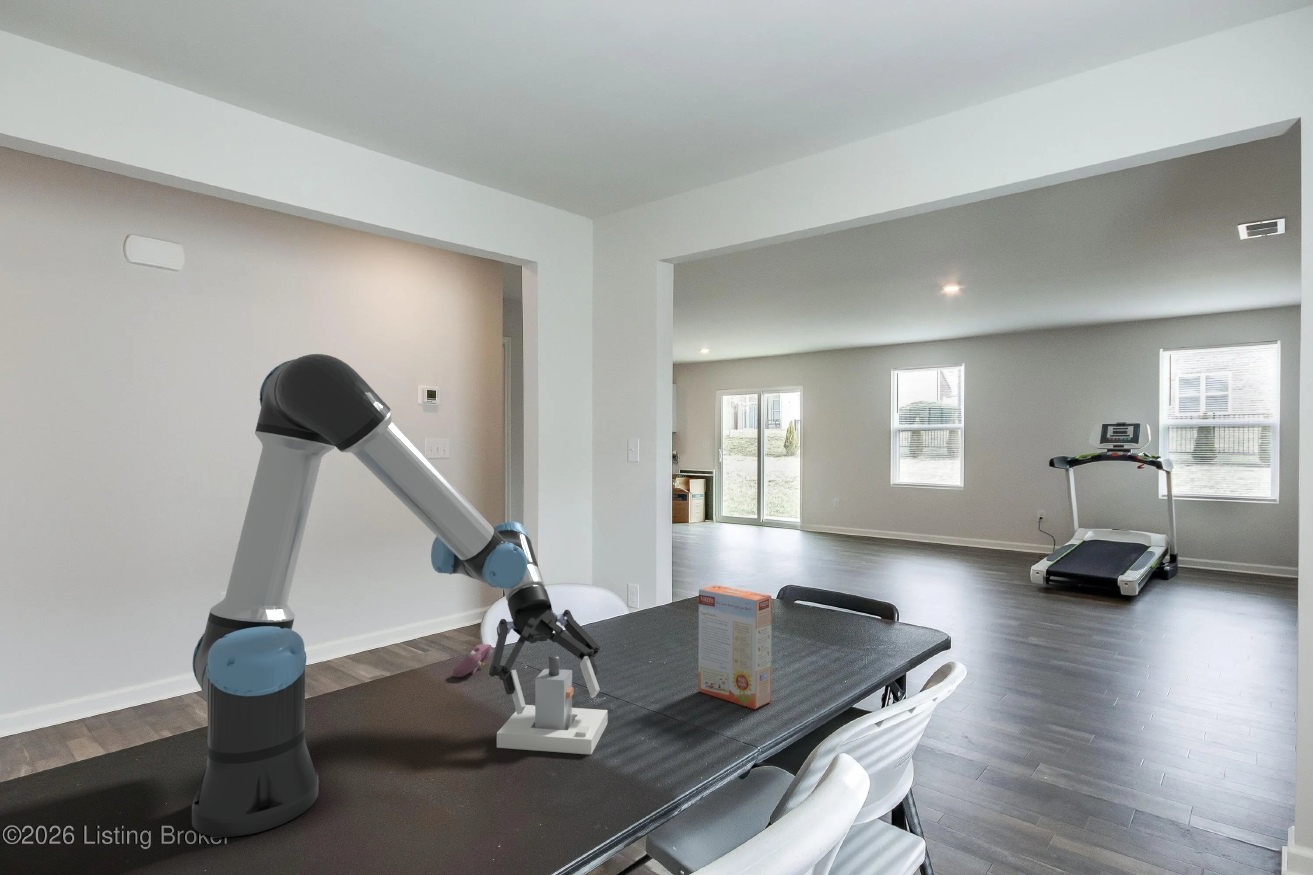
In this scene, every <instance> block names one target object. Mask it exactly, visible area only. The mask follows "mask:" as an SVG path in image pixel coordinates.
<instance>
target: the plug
mask: <svg viewBox="0 0 1313 875" xmlns="http://www.w3.org/2000/svg"><path fill="white" fill-rule="evenodd" d="M534 683H535V688H534V689H535V690H534V691H535V694H534V696H535V698H534V699H535V702H534V703H535V728H540V729H554V730H568V729H569V727H570V726H571V724H572V708H573V695H574V693H575V692H574V691H575V690H574V687H573V670H571V669H560V655H558V654H557V655H556V654H555V655H554V654H553V655H550V656H548V668H544V669H543V670H542V671H541V672H540V673H539V674H538V675H537V676H536V677H535V682H534Z"/></svg>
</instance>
